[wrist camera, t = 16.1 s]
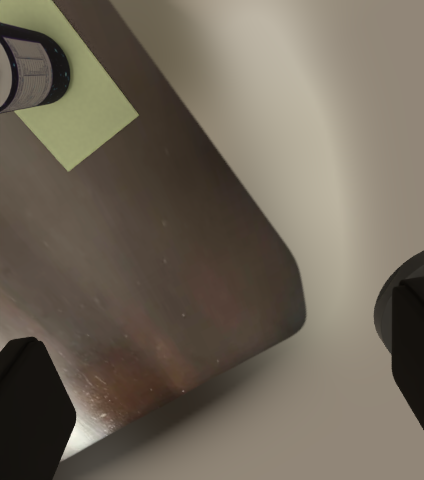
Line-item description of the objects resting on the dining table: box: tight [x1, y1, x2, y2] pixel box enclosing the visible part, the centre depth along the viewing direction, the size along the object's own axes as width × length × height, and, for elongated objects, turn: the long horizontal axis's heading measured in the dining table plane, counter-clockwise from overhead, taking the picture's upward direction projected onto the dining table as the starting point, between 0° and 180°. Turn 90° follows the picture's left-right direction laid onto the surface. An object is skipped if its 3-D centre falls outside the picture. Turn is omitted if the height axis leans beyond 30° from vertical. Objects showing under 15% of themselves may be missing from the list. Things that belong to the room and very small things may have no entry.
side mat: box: [0, 0, 139, 172], centre depth 31 cm, size 16×9×1 cm, turn 35°
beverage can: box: [0, 22, 70, 113], centre depth 26 cm, size 6×6×12 cm
